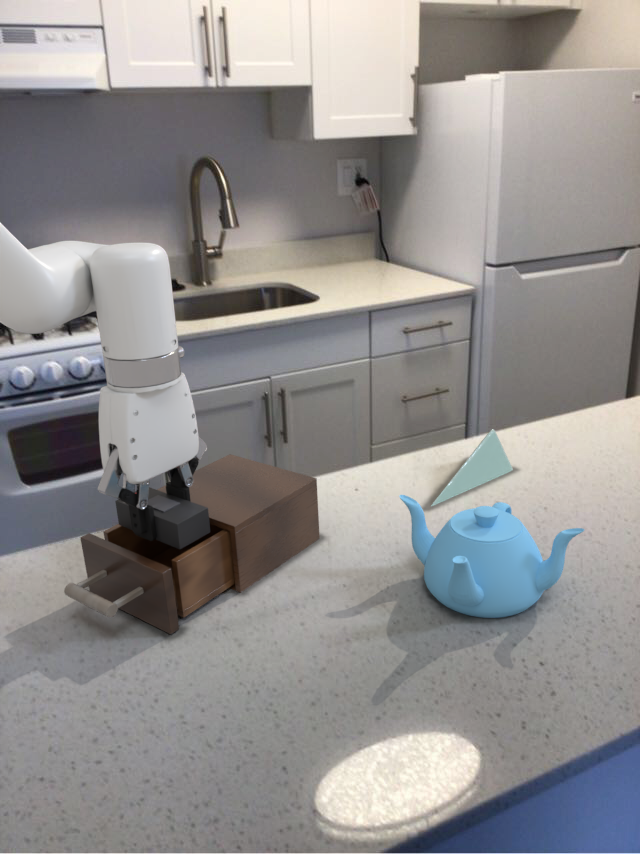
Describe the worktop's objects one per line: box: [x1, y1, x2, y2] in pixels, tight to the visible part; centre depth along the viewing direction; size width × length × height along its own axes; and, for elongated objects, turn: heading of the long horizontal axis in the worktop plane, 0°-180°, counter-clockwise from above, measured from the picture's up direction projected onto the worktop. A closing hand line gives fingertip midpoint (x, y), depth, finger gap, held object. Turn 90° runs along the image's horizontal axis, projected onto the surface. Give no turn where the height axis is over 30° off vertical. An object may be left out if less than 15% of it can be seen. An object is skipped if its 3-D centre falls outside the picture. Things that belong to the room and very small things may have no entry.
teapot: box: [398, 494, 585, 619], centre depth 82 cm, size 15×15×10 cm
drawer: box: [63, 523, 235, 635], centre depth 83 cm, size 18×13×7 cm
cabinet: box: [156, 453, 321, 594], centre depth 93 cm, size 15×15×9 cm
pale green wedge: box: [430, 428, 514, 507], centre depth 107 cm, size 8×6×18 cm
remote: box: [115, 486, 210, 549], centre depth 83 cm, size 4×10×3 cm, turn 53°
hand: (163, 525), depth 83 cm, fingers closed on remote, 4 cm apart
